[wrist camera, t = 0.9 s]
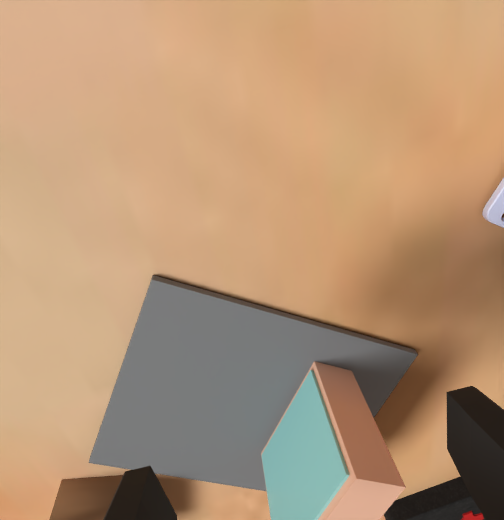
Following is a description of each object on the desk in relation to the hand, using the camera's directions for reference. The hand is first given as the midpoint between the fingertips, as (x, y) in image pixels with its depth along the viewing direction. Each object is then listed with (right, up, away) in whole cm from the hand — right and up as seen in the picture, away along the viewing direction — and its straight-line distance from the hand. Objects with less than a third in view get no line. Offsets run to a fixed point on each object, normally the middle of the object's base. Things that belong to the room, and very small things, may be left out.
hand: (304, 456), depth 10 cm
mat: (-1, -3, +13) cm, 13 cm away
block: (+2, -4, +13) cm, 13 cm away
